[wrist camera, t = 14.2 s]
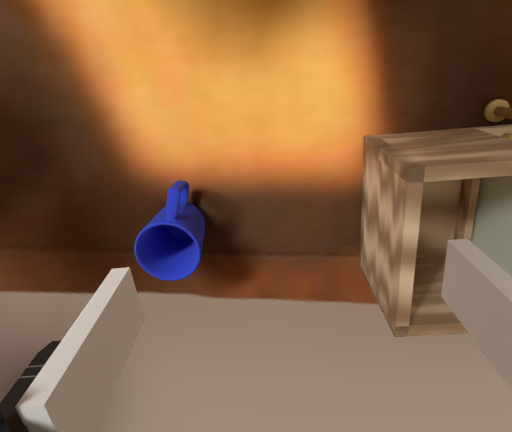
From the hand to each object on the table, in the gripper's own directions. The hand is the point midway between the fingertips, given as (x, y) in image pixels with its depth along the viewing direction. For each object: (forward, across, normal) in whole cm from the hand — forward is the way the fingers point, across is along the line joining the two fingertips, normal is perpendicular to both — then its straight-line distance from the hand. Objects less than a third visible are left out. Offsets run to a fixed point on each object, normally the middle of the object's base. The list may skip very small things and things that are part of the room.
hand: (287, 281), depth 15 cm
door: (+35, +29, -13) cm, 47 cm away
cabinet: (+36, +23, -11) cm, 44 cm away
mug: (+36, -13, -10) cm, 40 cm away
